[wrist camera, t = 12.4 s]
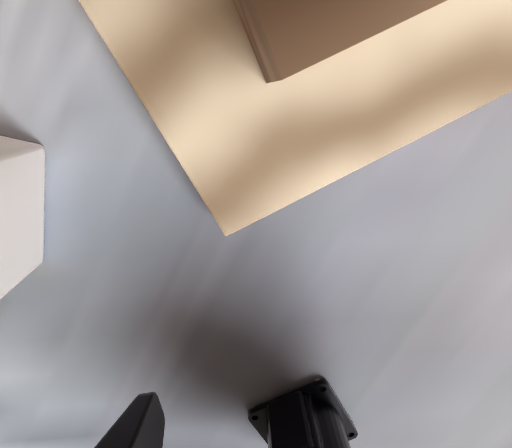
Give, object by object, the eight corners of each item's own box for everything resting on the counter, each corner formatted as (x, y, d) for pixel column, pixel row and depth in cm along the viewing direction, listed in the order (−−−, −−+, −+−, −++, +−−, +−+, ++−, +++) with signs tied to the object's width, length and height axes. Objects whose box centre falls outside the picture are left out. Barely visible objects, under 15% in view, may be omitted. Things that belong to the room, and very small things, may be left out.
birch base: (497, 83, 17) (528, 82, 15) (227, 222, 19) (225, 236, 18) (398, -356, 12) (428, -440, 10) (35, -92, 14) (4, -119, 12)
